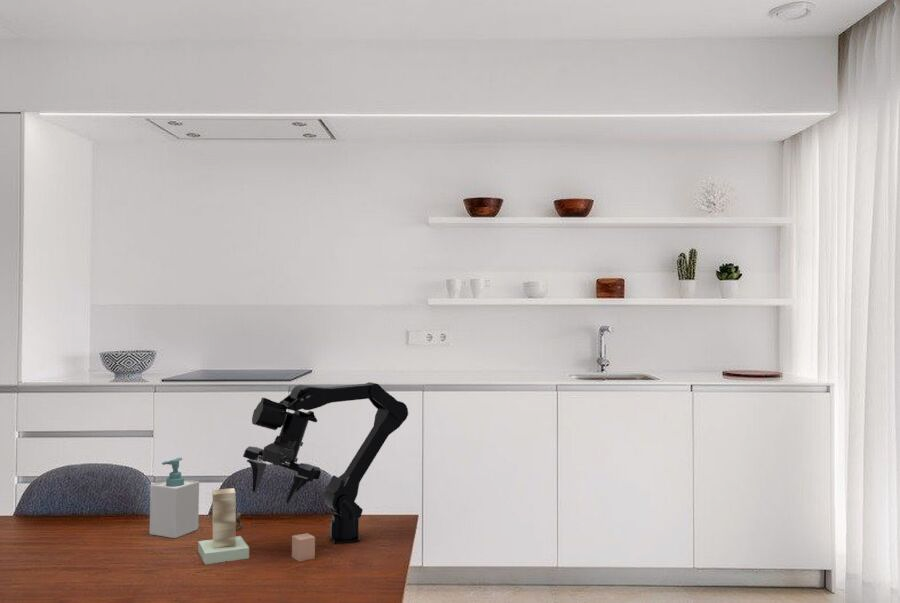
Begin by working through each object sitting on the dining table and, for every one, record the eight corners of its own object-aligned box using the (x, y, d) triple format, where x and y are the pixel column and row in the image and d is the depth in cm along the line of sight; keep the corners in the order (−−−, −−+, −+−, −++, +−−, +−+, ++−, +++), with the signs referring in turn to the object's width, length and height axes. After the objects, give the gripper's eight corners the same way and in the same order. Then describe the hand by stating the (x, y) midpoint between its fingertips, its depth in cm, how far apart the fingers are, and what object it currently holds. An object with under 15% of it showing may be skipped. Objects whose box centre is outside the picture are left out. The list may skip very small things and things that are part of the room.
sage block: (240, 548, 181) (240, 536, 181) (249, 560, 172) (249, 547, 172) (198, 553, 176) (198, 541, 177) (204, 566, 168) (205, 553, 168)
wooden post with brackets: (247, 525, 196) (241, 511, 194) (223, 544, 190) (217, 529, 189) (242, 523, 197) (237, 509, 196) (219, 542, 191) (213, 528, 190)
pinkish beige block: (307, 553, 176) (307, 532, 176) (314, 558, 173) (315, 537, 173) (291, 556, 174) (292, 535, 174) (299, 561, 170) (299, 540, 171)
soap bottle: (148, 534, 189) (150, 460, 189) (173, 525, 197) (174, 454, 197) (174, 538, 186) (176, 463, 186) (198, 529, 194) (200, 457, 194)
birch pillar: (234, 539, 178) (234, 488, 178) (235, 545, 173) (235, 492, 173) (212, 542, 176) (212, 489, 176) (213, 548, 171) (213, 494, 172)
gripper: (243, 421, 175) (221, 486, 172) (313, 444, 170) (291, 510, 168) (263, 425, 186) (243, 486, 183) (329, 446, 181) (309, 508, 178)
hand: (270, 497), depth 178 cm, fingers open, 9 cm apart
